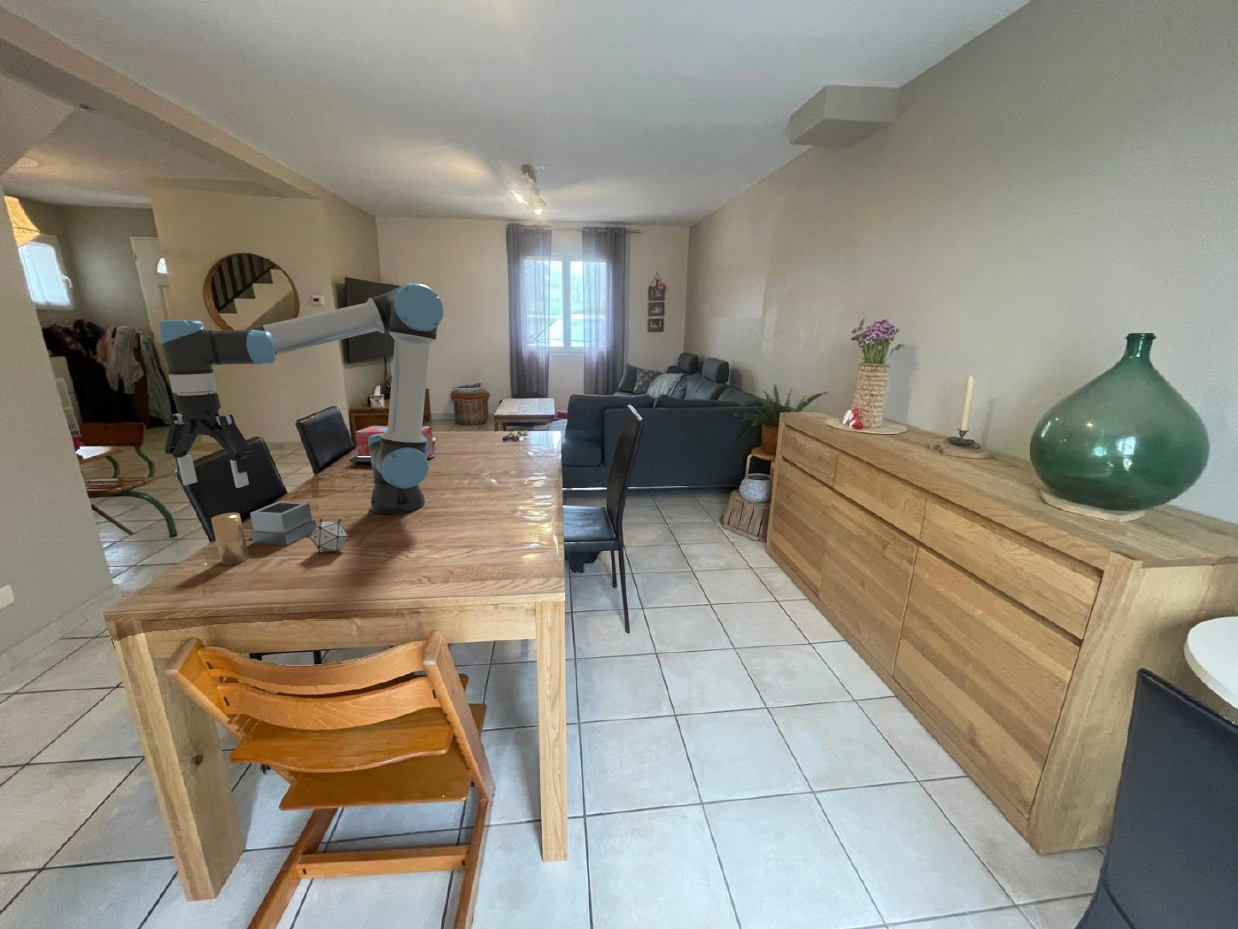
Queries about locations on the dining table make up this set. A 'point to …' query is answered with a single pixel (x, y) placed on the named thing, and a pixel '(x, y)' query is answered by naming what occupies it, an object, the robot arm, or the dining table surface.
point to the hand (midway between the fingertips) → (216, 484)
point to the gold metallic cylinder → (230, 538)
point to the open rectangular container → (282, 523)
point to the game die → (328, 536)
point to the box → (365, 433)
